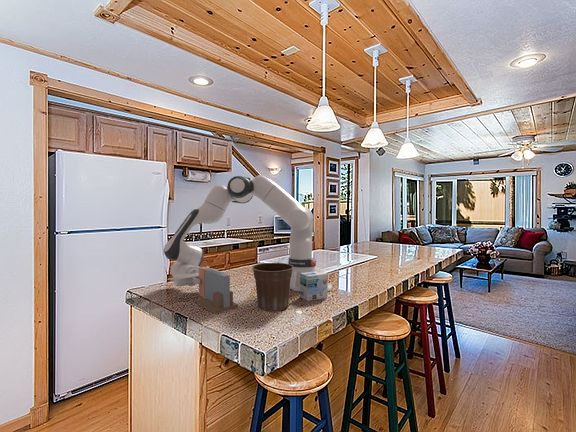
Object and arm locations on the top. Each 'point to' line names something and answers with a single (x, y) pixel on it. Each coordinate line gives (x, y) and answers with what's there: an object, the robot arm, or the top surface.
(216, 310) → the ticket holder
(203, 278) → the stub
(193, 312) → the top surface
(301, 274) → the light bulb box
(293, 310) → the top surface
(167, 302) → the top surface
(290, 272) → the plant pot
